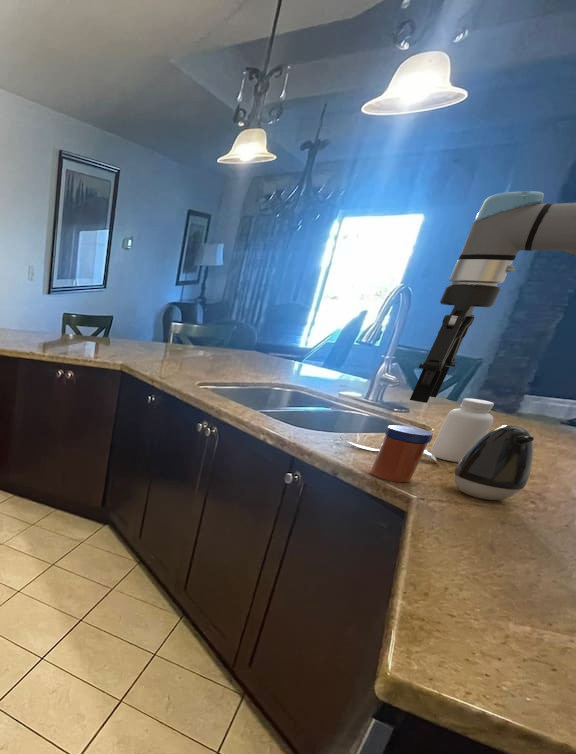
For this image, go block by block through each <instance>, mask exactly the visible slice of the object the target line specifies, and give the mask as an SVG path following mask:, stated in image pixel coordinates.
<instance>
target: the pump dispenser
mask: <svg viewBox="0 0 576 754" xmlns="http://www.w3.org/2000/svg"><path fill="white" fill-rule="evenodd" d="M534 440H535V438H534V436H532V434H531V433H530V432H529V430H527V429H526V428H524V427H523V426H520V425H516V424H506V425H505V424H504V425H501V426H498V427H495V428H494V429H492V430H490V431H488V432H487V434H486V435H485V436H484V437H482V438H481V439H480V440H479V441H478V442H477V443H476V444H475V445H474V446H473V447H472V448H471V449H470V450H469V451H468V452H467V453H466V454H465V456H464V457H463V458H462V459H461V461H460V462H459V463H457V465H456V466H455V468H454V470H453V474H454V476H453V477H454V478H453V479H454V484H455V486H456V487H457V489H458V490H460V491H461V492H462V493H463V494H465V495H467V496H469V497H473V498H476V499H481V500H487V501H488V500H489V501H500V500H505V499H508V498H511V497H513V496H514V495H516V494H517V493H518V492H519V491H520V490H523V489H524V488H525V487H526V485H527V483H528V481H529V478H530V475H531V471H532V467H533V460H534Z"/></svg>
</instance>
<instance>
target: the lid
mask: <svg viewBox="0 0 576 754" xmlns="http://www.w3.org/2000/svg"><path fill="white" fill-rule="evenodd" d="M384 434H385V435H384V436H386V435H387V436H389V437H391V438H394V439H398V440H402V441H407V442H413V443H428V444H429V443H431V441H432V439H433V436H434V433H433V432H432V431H429V430H425V429H422V428H418V427H413V426H408V425H400V424H399V425H398V424H392V425H391V424H390V425H388V426H387V428H386V431H385V433H384Z"/></svg>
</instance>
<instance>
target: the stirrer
mask: <svg viewBox="0 0 576 754" xmlns="http://www.w3.org/2000/svg"><path fill="white" fill-rule="evenodd" d="M339 439H341V440H342V441H343V442H345V443H347V444H349V445H351V446H354V447H356V448H359V449H361V450H365V451H370V452H379V450H380V448H375V447H370V446H367V445H364V444H362V443H359V442H357V441H355V440H352V439H350V438H347V437H346V436H342V435H341V436H340V437H339ZM422 456H424V457H427V458H429V459H431V460H432V461H434V462H435V464H438V458H437V457H436V456H435V454H434V453H433V452H432V451H431V449H429V448H427V447H426V448H425V450H424V452H423V455H422Z"/></svg>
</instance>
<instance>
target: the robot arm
mask: <svg viewBox="0 0 576 754" xmlns="http://www.w3.org/2000/svg"><path fill="white" fill-rule="evenodd" d="M544 197H545V194H544V193H543V192H542V191H536V190H534V191H533V190H532V191H531V190H530V191H529V190H528V191H527V190H526V191H509V192H507V191H506V192H500V193H495V194H493V195H490V196H488V197H487V198H486V199H485V200H484V202H483V203H482V206H481V207H480V209H479V212H478V213H477V215H476V217H475V220H473V222H472V225H471V228H470V230H469V232H468V235H467V238H466V240H465V243H464V245H463V248H462V250H461V252H460V255H459V257H458V259H457V260H456V262H455V265H454V267H453V269H452V272H451V274H450V276H449V278H448V281H449V282H451V284H448V286H446V287H445V289H444V292H443V294H442V296H441V298H440V301H439V303H440V304H441V305H442V306H443V305H445V306H453V308H452V310H451V311H450V314H445V315H444V317H443V319H442V324H441V326H440V328H439V330H438V332H437V335H436V338H435V340H434V342H433V343H432V346H431V347H430V350H429V352H428V355H427V356H426V358H425V361H423V364H422V363H420V364H419V365H418V369H422V370H421V372H420V375H419V377H418V380H417V382H416V384H415V386H414V389H413V391H412V393H411V396H410V398H409V401H412V402H417V403H418V402H419V403H424V404H428V402H429V401H430V398H437V396H438V394H439V392H440V390H441V388H442V386H443V384H444V381H445V379H446V377H447V375H448V372H449V370H450V367H452V368H454V367H456V365H457V362H456V356H457V354H458V353H459V352H458V351H459V349H460V347H461V345H462V343H463V341H464V338H465V337H466V335H467V334H468V331H469V329H470V326H471V325H472V324H473V323H474V321H475V318H476V316H474V315H475V314H473V311H474V309H475V307H477V308H490V307H492V306H494V304H495V302H496V300H497V298H498V295H499V294H500V291H501V286H498V285H499V284H503V283H504V282H505V281H506V277H507V276H508V274H507V273H512V272H515V270H516V266H514V265H512V264H513V263H514V261H515V259H516V257H517V255H518V253H519V252H520V251H525V252H532V251H537V252H538V251H541V252H542V251H543V252H545V251H546V252H547V251H549V252H563V253H566V254H568V255H571V256H575V257H576V202H568V203H566V202H565V203H564V202H563V203H547V202H546V203H545V202H544Z"/></svg>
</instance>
